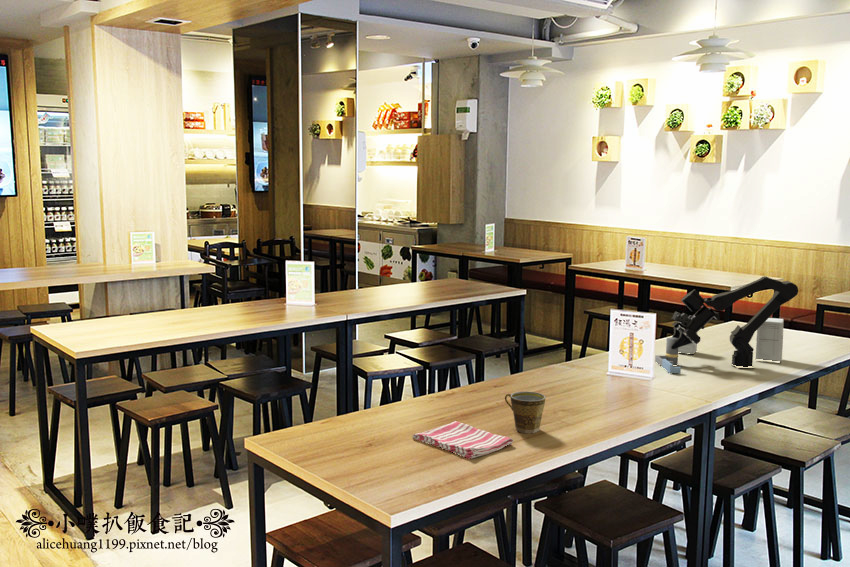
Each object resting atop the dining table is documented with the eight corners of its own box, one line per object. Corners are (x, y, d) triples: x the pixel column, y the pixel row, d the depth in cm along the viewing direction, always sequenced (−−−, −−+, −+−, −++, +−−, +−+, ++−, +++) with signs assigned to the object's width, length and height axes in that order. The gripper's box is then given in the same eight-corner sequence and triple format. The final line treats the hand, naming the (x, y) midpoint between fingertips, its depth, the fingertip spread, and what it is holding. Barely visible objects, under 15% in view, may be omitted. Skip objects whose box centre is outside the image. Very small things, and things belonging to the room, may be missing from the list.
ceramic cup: (551, 429, 220) (552, 395, 218) (531, 437, 212) (532, 403, 211) (514, 420, 228) (515, 387, 227) (494, 427, 221) (495, 394, 219)
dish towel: (471, 462, 195) (471, 449, 194) (410, 440, 212) (410, 428, 211) (514, 447, 206) (515, 435, 206) (454, 427, 223) (454, 415, 223)
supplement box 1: (697, 352, 321) (698, 322, 320) (693, 355, 315) (694, 325, 313) (679, 350, 325) (680, 321, 324) (674, 353, 319) (676, 323, 317)
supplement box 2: (782, 359, 308) (784, 318, 306) (780, 364, 300) (783, 322, 298) (756, 356, 313) (759, 316, 311) (754, 361, 305) (757, 320, 302)
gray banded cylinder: (675, 363, 301) (676, 337, 300) (679, 366, 296) (680, 339, 295) (663, 363, 301) (664, 337, 300) (667, 366, 296) (668, 339, 295)
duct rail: (665, 361, 304) (665, 353, 303) (680, 374, 284) (680, 364, 284) (655, 361, 304) (655, 352, 304) (669, 373, 284) (670, 364, 284)
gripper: (678, 301, 305) (649, 328, 306) (693, 308, 286) (662, 337, 288) (697, 320, 306) (668, 347, 307) (713, 329, 287) (682, 357, 289)
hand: (670, 347), depth 298 cm, fingers closed on gray banded cylinder, 4 cm apart
